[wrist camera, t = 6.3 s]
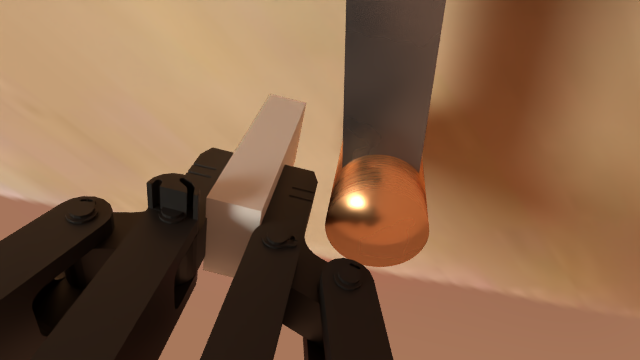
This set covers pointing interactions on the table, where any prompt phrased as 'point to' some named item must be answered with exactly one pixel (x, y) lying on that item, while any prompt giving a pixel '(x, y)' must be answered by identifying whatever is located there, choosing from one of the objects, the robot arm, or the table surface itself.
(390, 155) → the lever
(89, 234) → the robot arm
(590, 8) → the table surface
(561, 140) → the table surface
